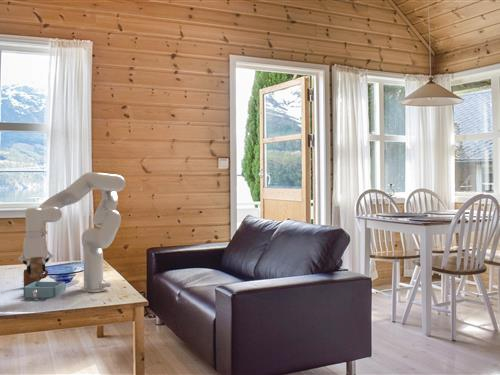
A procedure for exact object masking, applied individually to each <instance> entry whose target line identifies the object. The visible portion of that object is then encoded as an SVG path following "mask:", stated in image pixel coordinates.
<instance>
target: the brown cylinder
mask: <svg viewBox="0 0 500 375" xmlns="http://www.w3.org/2000/svg"><path fill="white" fill-rule="evenodd" d="M30 266H31V274H30V277H31V278H34V277H43V275H44V273H43V265H42V257H37V258H30Z"/></svg>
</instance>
